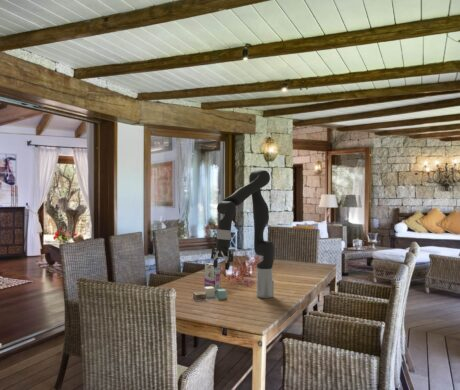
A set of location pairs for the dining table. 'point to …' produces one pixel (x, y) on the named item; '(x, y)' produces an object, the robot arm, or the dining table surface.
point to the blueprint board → (209, 298)
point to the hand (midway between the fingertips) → (220, 268)
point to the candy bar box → (212, 275)
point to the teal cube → (221, 293)
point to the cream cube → (209, 291)
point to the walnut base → (199, 295)
